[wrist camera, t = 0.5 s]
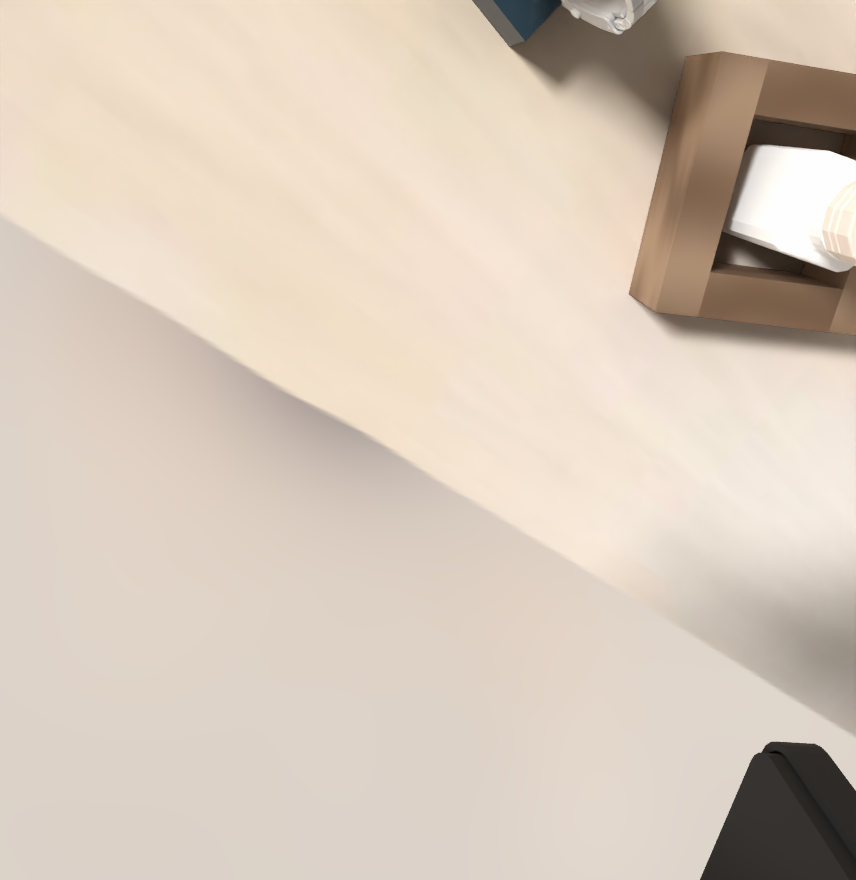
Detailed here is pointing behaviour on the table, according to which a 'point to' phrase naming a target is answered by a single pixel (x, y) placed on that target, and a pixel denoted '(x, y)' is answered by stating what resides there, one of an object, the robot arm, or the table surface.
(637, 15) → the watch
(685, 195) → the shaker holder
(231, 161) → the table surface
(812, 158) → the salt shaker
